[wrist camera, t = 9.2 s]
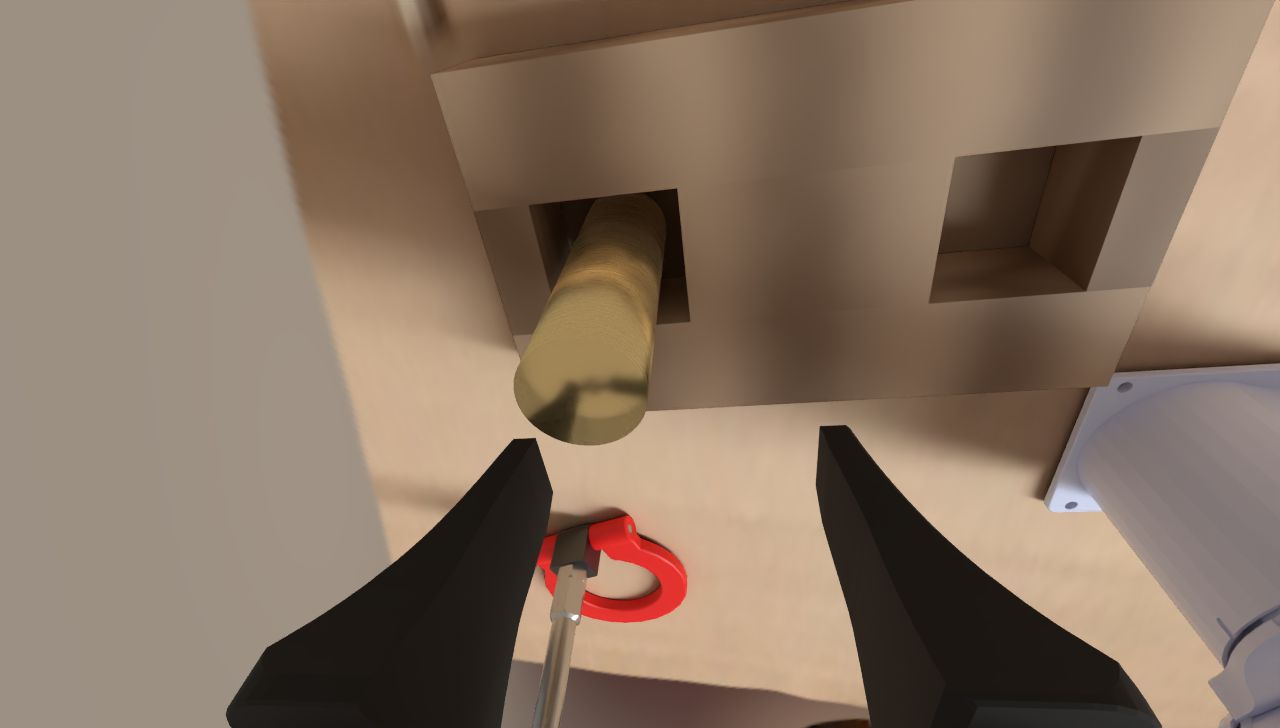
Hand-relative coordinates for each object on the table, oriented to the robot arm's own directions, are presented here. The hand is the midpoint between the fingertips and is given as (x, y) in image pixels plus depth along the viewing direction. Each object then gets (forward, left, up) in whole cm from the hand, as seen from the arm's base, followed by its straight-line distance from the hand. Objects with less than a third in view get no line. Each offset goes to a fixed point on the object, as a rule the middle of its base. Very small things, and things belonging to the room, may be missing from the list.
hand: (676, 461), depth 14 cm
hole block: (-4, -3, -9) cm, 11 cm away
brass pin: (+2, -3, -9) cm, 10 cm away
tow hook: (+6, +18, -10) cm, 21 cm away
